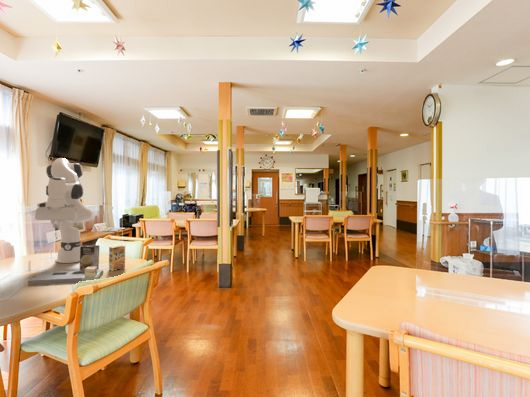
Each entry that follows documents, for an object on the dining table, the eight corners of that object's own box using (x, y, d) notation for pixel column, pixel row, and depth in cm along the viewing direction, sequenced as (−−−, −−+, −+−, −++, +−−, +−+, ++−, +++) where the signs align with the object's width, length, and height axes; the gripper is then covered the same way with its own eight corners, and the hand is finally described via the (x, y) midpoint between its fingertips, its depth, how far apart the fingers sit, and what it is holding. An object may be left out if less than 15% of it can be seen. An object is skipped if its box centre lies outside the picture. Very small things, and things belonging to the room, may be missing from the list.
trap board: (41, 276, 162) (41, 272, 162) (103, 273, 172) (103, 269, 172) (27, 285, 147) (27, 280, 147) (95, 281, 157) (95, 277, 157)
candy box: (112, 271, 178) (112, 247, 177) (108, 270, 180) (109, 247, 180) (125, 268, 185) (125, 245, 185) (121, 267, 187) (121, 245, 187)
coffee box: (78, 271, 174) (79, 246, 174) (85, 269, 181) (85, 244, 181) (93, 272, 175) (94, 247, 174) (99, 269, 181) (99, 245, 181)
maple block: (87, 274, 161) (87, 266, 161) (97, 274, 163) (97, 266, 163) (84, 277, 156) (84, 269, 156) (94, 276, 158) (94, 268, 158)
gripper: (79, 204, 169) (78, 226, 169) (39, 203, 163) (38, 227, 163) (75, 204, 163) (74, 228, 163) (33, 204, 157) (33, 228, 157)
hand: (56, 227), depth 163 cm, fingers closed
